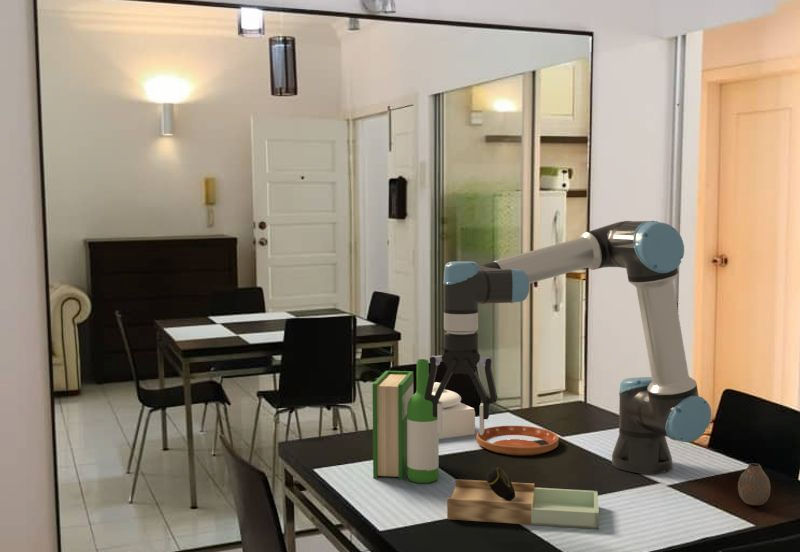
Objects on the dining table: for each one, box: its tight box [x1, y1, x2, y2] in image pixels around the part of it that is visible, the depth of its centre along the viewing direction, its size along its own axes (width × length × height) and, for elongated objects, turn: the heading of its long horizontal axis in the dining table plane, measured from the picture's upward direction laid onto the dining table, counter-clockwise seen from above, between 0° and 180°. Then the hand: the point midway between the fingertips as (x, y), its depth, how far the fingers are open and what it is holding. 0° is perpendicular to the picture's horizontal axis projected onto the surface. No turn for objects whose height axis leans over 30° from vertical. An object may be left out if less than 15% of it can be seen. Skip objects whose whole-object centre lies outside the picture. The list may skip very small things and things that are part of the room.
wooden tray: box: [446, 478, 535, 526], centre depth 196 cm, size 18×14×4 cm
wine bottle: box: [406, 358, 440, 484], centre depth 218 cm, size 8×8×30 cm
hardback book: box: [372, 370, 414, 481], centre depth 227 cm, size 18×7×24 cm, turn 170°
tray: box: [531, 487, 600, 530], centre depth 193 cm, size 14×15×4 cm
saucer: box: [476, 425, 560, 456], centre depth 248 cm, size 23×23×4 cm
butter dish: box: [432, 381, 476, 440], centre depth 262 cm, size 18×18×16 cm
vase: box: [737, 462, 771, 506], centre depth 201 cm, size 7×7×9 cm
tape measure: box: [485, 466, 515, 501], centre depth 195 cm, size 7×7×4 cm
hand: (460, 432), depth 196 cm, fingers open, 9 cm apart
